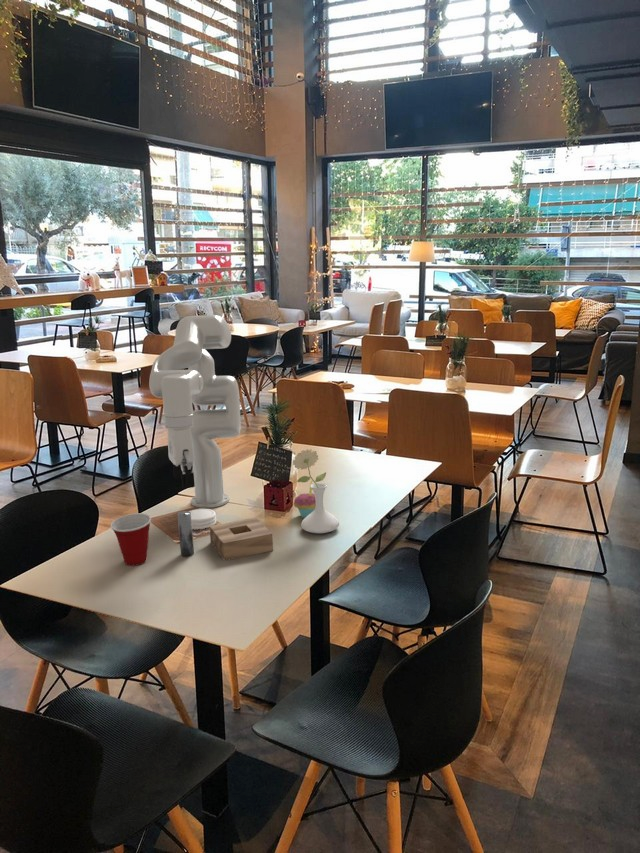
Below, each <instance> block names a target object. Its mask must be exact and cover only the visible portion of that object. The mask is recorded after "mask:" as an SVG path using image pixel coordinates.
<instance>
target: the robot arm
mask: <svg viewBox="0 0 640 853" xmlns="http://www.w3.org/2000/svg"><path fill="white" fill-rule="evenodd" d="M174 331H175V333H174V341H173V344H172V346H170V347H169V348H168V349H166V350H165V351H163V352H162V353H160V354H159V355H158V356H157V357H156V358H155V360H154V361H153V363H152V366H151V371H150V374H149V381H148V383H149V384H148V385H149V386H148V388H149V391H150V393H151V395H152V396H154V397H155V398H157V399H162V406H163V415H164V416H163V418H164V427H165V429H166V430H167V448H168V451H167V452H168V454H167V455H168V459H169V461H171V463H172V469H173V478H174V479H175V480H178V479H181V486H182V489H185V490H186V489H191V488H194V496H193V497H192V498H191V500H190V504H191V505H192V506H194V507H196V508H199V509H210V508H211V509H212V508H217V507H220V506H223V505H226V504H227V503H228V502H229V501H230V498H229V495H227V494H226V493H225V492H224V478H223V465H222V464H223V463H222V452H221V448H220V447H219V446H220V445H218V444H217V442H215V439H228V438H229V439H230V438H231V439H232V438H237V437H238V436H239V435H240V433H241V429H242V428H241V425H242V422H241V421H242V420H241V404H240V390H239V384H238V380H237V379H236V377H234V376H232V375H216V371H215V370H216V369H215V360H214V358H213V356H212V355H211V354H210V352H208V351H207V350H215V349H216V350H218V349H226V348H228V347H229V346H230V344H231V342H232V331H231V328H230V325H229V323H228V322H227V321H226V320H225V319H224V318H223V317H222V316H220V315H216V314H210V315H209V314H207V315H205V314H204V315H189V316H188V315H187V316H185V317H183V318H181V319H180V320H179V321H178V323H177V326H176V328H175V330H174ZM186 368H187V369H186ZM193 405H195V406H224V407H225V408H217V409H215V408H212V409H210V408H209V409H197V410H194V409H193Z"/></svg>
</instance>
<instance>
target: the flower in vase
mask: <svg viewBox="0 0 640 853" xmlns="http://www.w3.org/2000/svg"><path fill="white" fill-rule="evenodd" d="M318 460H319V455H318V453H317V450H313V449H312V448H310V449H308V448H306V449H305V450H304V449H301V451H300V452H297V454H296V455H295V456H294V459H293V460H292V465H294V466H293V467H294V468H295V469H297V470H299V469H300V470H307V469H308V475H309V476H308V475H303V476H301V477H299V478H298V479H297V480H296V483H308V482H309V481H310V480H311V481H312V484H311V485H309V488H310V487H311V488H312V492H313V494H315V501H316V506H315V510H314V511H313V512H312V513H311V514H309V515H308V516H307V517H306V518H303V520H302V521H301V523H300V527H301V528H302V529H303V531H305V532H308V533H311V534H326V533H330V532H333V531H335V530H337V528H338V527H339V526H340V522H339V520H338V518H337V517H336V516H335V515H333V514H332V513H330V512H329V511H328V510H326V509H325V507H324V493H325V490H326V488H327V487H328V485H327V484H326V483H323V482H321V481H323V480H324V479H325V478H326V475H327V471H325V472H324V473H322V474H319V475H317V476H316V477H315V480H314V478H313V477H312V475H311V471H310V468H311V467H312V466H315V464H316V463H317V462H318Z"/></svg>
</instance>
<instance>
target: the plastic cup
mask: <svg viewBox="0 0 640 853" xmlns="http://www.w3.org/2000/svg"><path fill="white" fill-rule="evenodd" d="M151 521H152V516H150V515H149V514H147V513H139V512H138V513H129V514H125V515H122V516H120V517H117V518H116V519H114V520H112V521H111V523H110V528H111V530H113V532H114V534H115V537H116V539H117V542H118V546H119V549H120V552H121V554H122V558H123V561H124V563H125V565H128V566H138V565H139V566H140V565H141V564H144V563H145V562H146V561H147V558H148V549H149V536H150V527H151Z"/></svg>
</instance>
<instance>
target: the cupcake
mask: <svg viewBox="0 0 640 853" xmlns="http://www.w3.org/2000/svg"><path fill="white" fill-rule="evenodd" d="M309 484H310V485H311V484H313V480H311V482H310V483H309ZM310 485H309V493H300V494H299V495H298V496H296V498H294V502H293V506H294V507H295V508H297V509H298V512H299V513H300V516H301V517H302V518H303V519H305V518H306V517H307V516H308V515H309V514H311V513H312V512H313V511H314V510H315V506H316V501H315V494H314V492H313V489H312V488H311V487H310ZM312 492H313V493H312Z"/></svg>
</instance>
